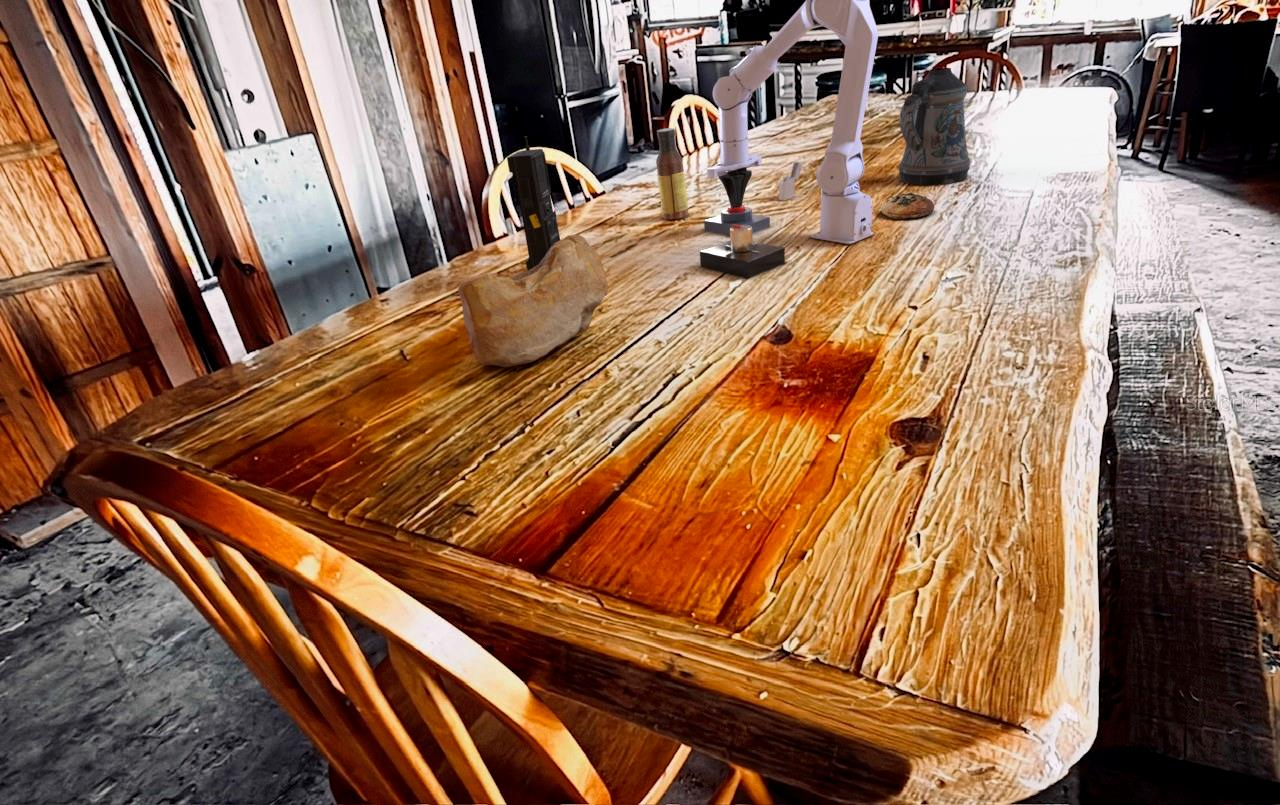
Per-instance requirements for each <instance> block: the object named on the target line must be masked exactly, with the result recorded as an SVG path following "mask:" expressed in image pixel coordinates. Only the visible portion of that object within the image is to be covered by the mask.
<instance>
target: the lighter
mask: <svg viewBox="0 0 1280 805" xmlns="http://www.w3.org/2000/svg"><path fill="white" fill-rule="evenodd" d="M791 167H792V168H791V171H790V174H789V175H784V176H783V177H782V180H780V181H778V201H782V202H783V201H787V200H790V199H794V198H795V181H799V178H800V175H801V171H802V168H803V163H802V162H800V161H794V162H793V164H792V166H791Z"/></svg>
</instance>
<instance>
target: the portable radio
mask: <svg viewBox="0 0 1280 805" xmlns="http://www.w3.org/2000/svg"><path fill="white" fill-rule="evenodd" d="M524 140H525V149H524V150H520V151H517V152H515V153H513V154H511V155H509V156H507V157H506V162H507V166H508V172H509V173H512V174H513V176H514V179H515V184H516V191H517V197H518V203H519V208H520V213H521V219H522V225H523V230H524V236H525V241H526V247H527V253H528V258H527V259H526V260H525V267H526V271H528V270H530V269H532V268H534V267H535V266H537V265H538V264H539V263H540V262H541V260H542V259H543V258H544V257H545V255H546V254H547V252H548V251H549V249H550V247H552V246H553V245H554V244H555V243H556V242H558V241H560V240H561V237H560V230H559V225H558V220H557V215H556V213H555V212H554V210H553V209H554V208H553V202H552V198H551V195H552V190H551V185H550V178H549V172H548V166H547V160H546V153H545V151H544V150H543V148H534V149H531V148H530V145H529V142H528V136H527V135H526V136H524Z"/></svg>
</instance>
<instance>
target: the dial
mask: <svg viewBox="0 0 1280 805" xmlns="http://www.w3.org/2000/svg"><path fill="white" fill-rule="evenodd" d="M729 238H730V239H729V241H730V242H731V251H733V252H747V251H750V250H752V249H753V242H754V241H753V233H752V226H750V225H735V224H734V225H732V227H731V228H730V235H729Z"/></svg>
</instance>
